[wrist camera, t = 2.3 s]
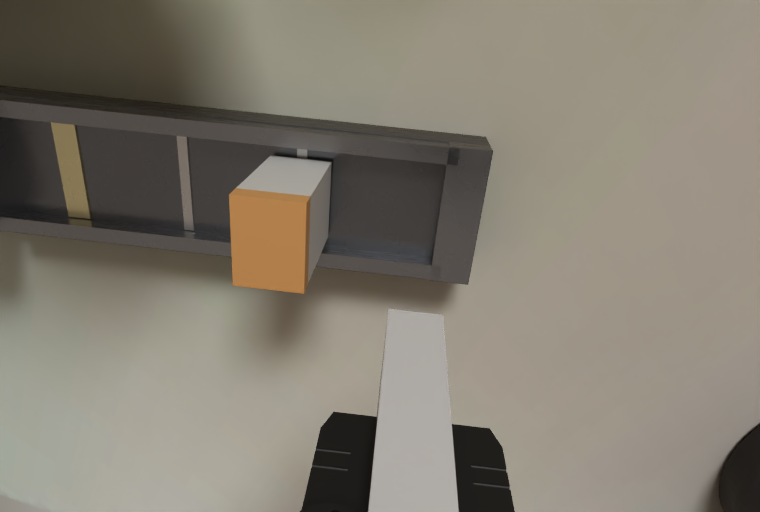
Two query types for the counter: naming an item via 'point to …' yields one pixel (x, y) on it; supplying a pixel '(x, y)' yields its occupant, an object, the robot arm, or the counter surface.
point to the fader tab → (280, 223)
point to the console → (235, 179)
